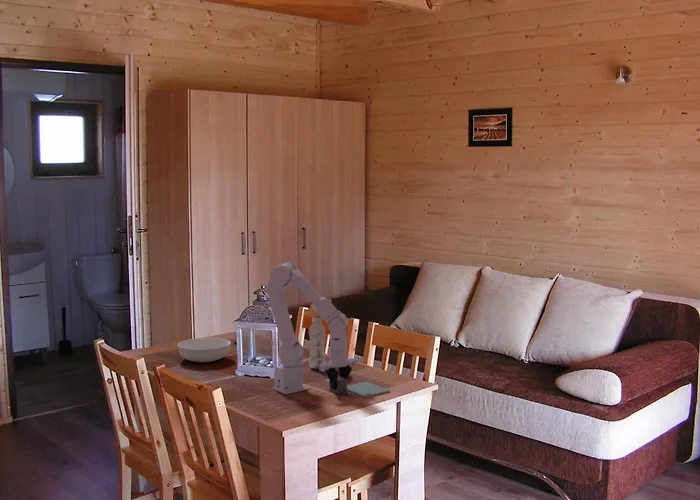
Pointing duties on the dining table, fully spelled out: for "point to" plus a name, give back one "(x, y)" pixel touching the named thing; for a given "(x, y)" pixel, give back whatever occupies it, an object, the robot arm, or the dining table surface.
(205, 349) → the serving bowl
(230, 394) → the dining table surface
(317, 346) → the plastic bottle
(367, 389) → the rubber mat
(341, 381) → the connector plug
